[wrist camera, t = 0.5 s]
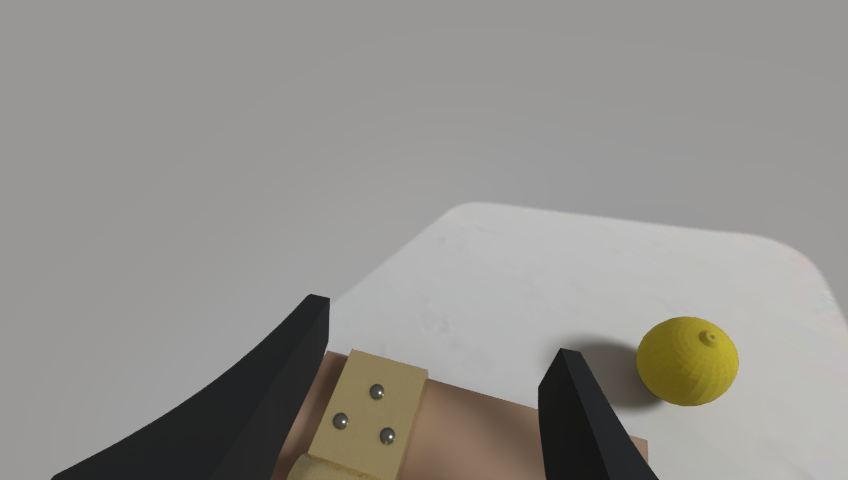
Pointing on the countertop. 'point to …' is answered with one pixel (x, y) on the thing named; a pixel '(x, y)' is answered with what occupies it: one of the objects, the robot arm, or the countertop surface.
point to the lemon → (687, 361)
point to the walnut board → (441, 433)
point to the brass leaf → (365, 422)
